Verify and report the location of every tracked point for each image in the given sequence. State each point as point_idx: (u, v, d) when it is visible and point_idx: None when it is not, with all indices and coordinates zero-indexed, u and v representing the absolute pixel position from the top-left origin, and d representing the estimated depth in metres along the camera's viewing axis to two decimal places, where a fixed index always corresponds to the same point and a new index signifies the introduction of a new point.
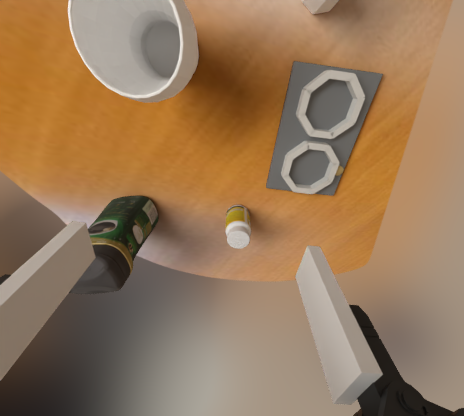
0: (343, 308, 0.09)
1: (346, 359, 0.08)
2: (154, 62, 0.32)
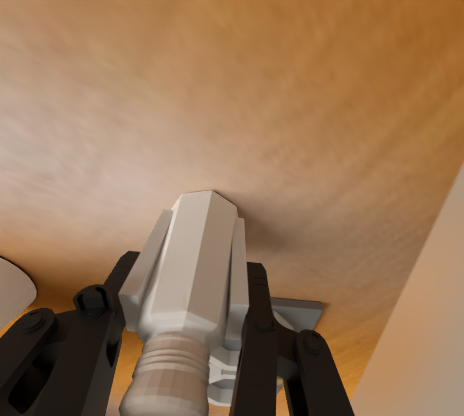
0: (240, 262, 0.11)
1: (229, 298, 0.10)
2: None
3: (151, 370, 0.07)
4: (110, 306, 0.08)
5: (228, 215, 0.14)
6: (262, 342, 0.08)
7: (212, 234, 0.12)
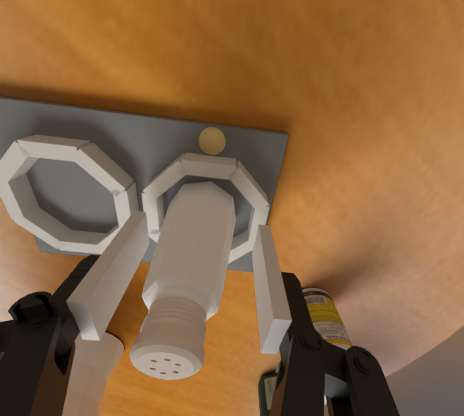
0: (274, 272, 0.11)
1: (268, 312, 0.10)
2: None
3: (157, 322, 0.08)
4: (55, 312, 0.08)
5: (225, 204, 0.15)
6: (308, 360, 0.08)
7: (210, 218, 0.13)
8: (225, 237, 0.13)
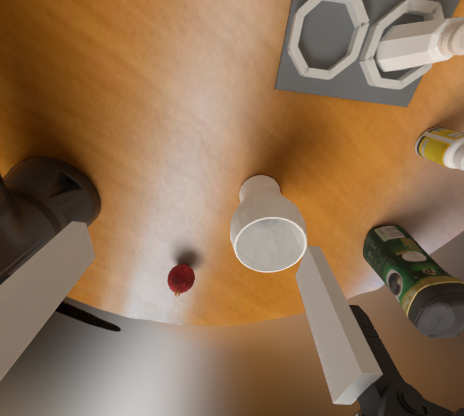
0: (343, 308, 0.09)
1: (346, 359, 0.08)
2: None
3: None
4: None
5: None
6: None
7: None
8: None
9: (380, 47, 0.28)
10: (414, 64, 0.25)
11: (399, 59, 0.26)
